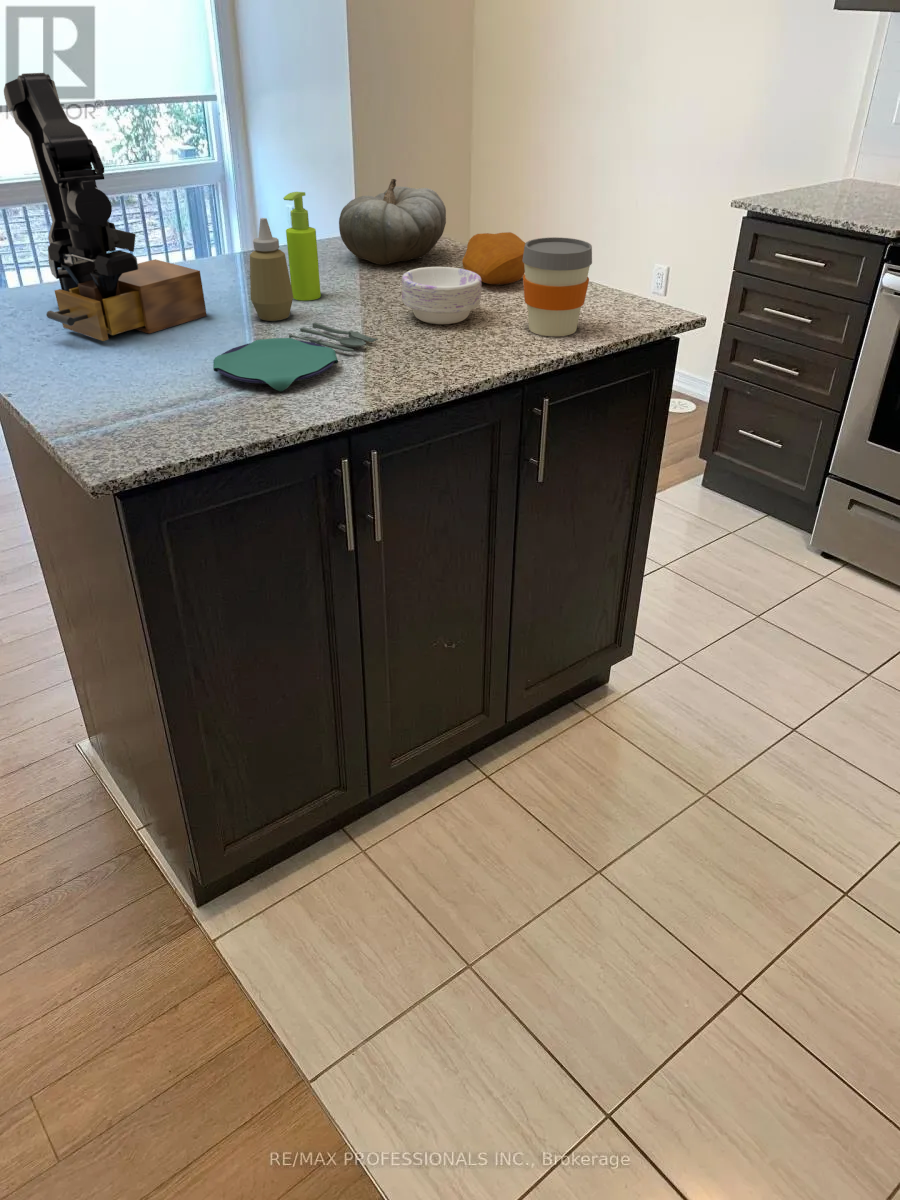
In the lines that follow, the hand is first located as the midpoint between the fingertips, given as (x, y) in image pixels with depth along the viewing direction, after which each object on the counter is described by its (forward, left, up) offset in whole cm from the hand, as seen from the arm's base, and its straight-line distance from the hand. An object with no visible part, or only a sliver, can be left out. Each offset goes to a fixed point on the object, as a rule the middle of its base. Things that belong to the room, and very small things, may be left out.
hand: (102, 305), depth 163 cm
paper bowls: (+56, +28, -5) cm, 63 cm away
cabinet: (+4, +10, -5) cm, 12 cm away
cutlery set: (+40, -3, -5) cm, 41 cm away
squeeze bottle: (+25, +18, -5) cm, 31 cm away
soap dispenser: (+25, +32, -5) cm, 41 cm away
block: (0, 0, -1) cm, 1 cm away
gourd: (+31, +67, -5) cm, 74 cm away
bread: (+58, +57, -5) cm, 81 cm away
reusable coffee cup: (+78, +28, -5) cm, 83 cm away
